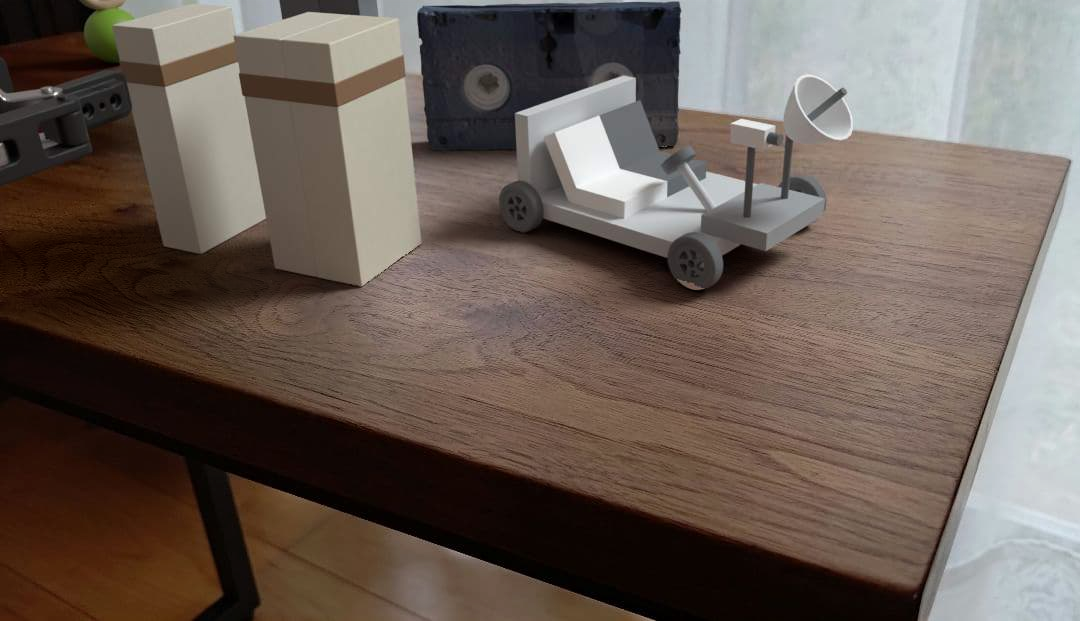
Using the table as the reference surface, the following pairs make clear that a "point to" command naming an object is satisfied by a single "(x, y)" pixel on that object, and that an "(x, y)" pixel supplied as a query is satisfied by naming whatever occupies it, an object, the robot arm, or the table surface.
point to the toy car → (665, 177)
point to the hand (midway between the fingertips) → (62, 82)
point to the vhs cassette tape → (541, 64)
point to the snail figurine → (104, 28)
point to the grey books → (328, 7)
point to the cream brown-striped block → (331, 143)
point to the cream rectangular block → (192, 124)
